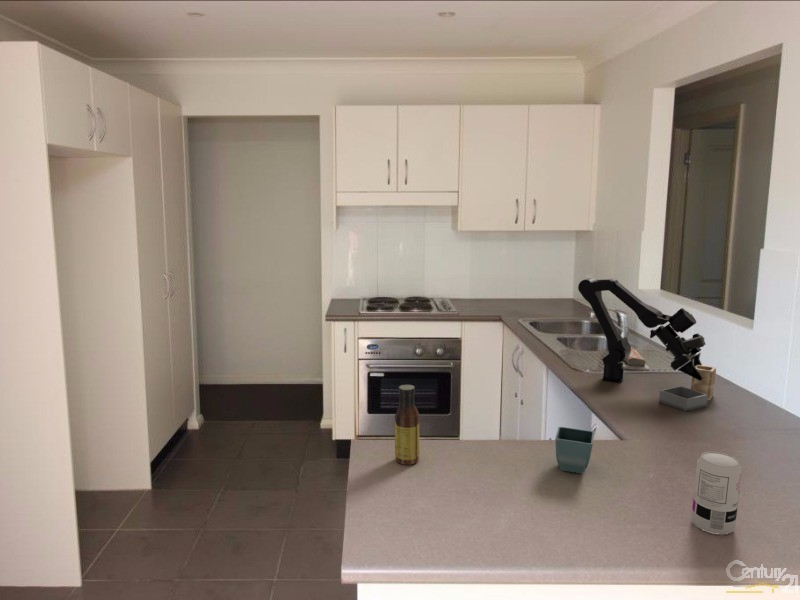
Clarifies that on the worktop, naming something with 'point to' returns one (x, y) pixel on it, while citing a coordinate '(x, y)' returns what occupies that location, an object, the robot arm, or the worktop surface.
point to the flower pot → (573, 449)
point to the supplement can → (716, 492)
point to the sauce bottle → (407, 427)
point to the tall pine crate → (705, 380)
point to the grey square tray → (683, 398)
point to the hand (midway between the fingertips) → (703, 377)
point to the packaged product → (635, 361)
